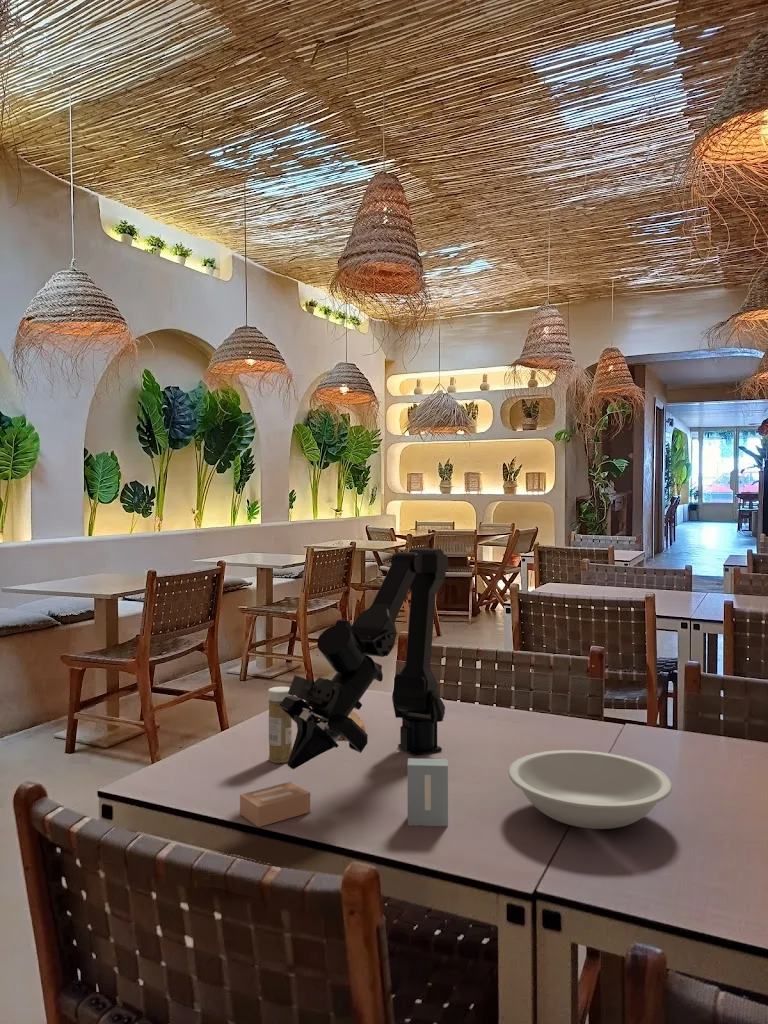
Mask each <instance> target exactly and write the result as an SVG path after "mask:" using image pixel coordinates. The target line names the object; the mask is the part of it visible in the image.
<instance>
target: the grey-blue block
mask: <svg viewBox="0 0 768 1024" xmlns="http://www.w3.org/2000/svg"><path fill="white" fill-rule="evenodd" d="M412 825H415V827H417V826H418V825H425V826H424V827H449V764H448V758H407V826H412Z"/></svg>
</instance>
